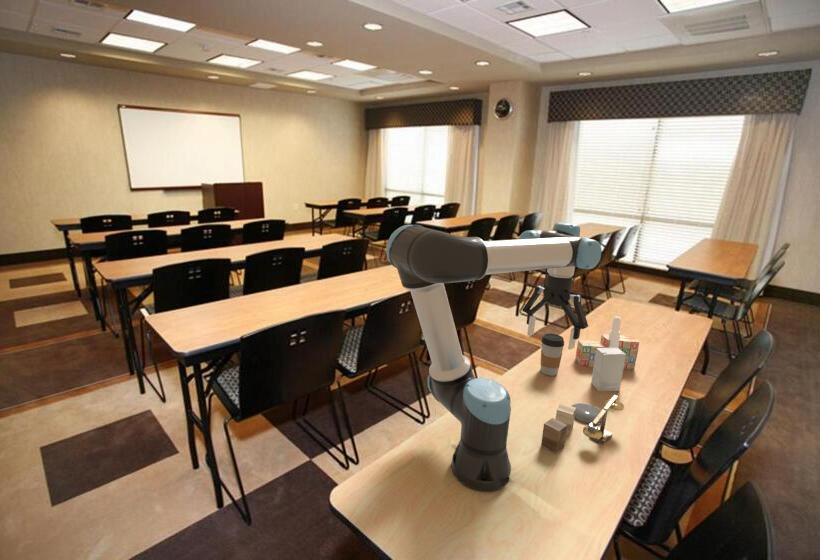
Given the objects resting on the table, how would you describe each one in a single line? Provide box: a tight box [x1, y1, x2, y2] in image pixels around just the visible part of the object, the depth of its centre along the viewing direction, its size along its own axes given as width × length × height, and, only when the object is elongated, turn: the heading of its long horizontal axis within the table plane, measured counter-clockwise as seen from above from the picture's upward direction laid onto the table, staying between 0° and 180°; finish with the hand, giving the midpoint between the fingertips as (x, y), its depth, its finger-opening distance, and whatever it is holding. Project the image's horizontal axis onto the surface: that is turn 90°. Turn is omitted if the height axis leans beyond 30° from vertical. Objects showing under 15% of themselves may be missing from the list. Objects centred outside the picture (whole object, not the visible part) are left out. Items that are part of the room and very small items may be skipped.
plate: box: [571, 402, 602, 425], centre depth 130 cm, size 10×10×1 cm
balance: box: [582, 394, 625, 445], centre depth 118 cm, size 19×5×11 cm, turn 132°
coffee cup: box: [540, 333, 565, 377], centre depth 156 cm, size 8×8×15 cm
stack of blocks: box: [575, 334, 640, 370], centre depth 164 cm, size 21×6×12 cm, turn 86°
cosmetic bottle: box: [608, 315, 622, 348], centre depth 161 cm, size 6×6×22 cm
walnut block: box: [540, 417, 567, 454], centre depth 113 cm, size 4×4×7 cm
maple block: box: [555, 402, 576, 437], centre depth 121 cm, size 4×4×7 cm
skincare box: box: [590, 348, 626, 392], centre depth 146 cm, size 8×6×15 cm
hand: (550, 341), depth 126 cm, fingers open, 13 cm apart
